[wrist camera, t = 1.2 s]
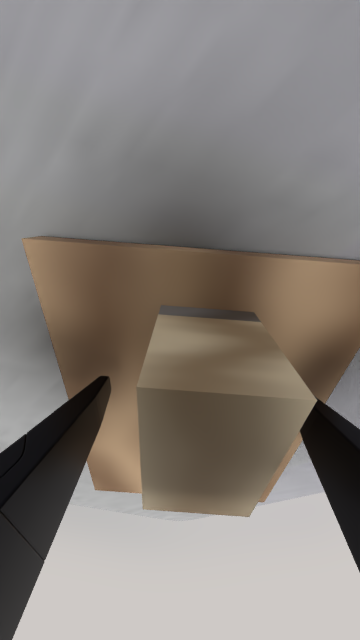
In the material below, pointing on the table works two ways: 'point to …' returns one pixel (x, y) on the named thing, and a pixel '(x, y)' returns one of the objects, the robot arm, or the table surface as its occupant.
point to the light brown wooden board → (185, 291)
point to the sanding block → (214, 411)
